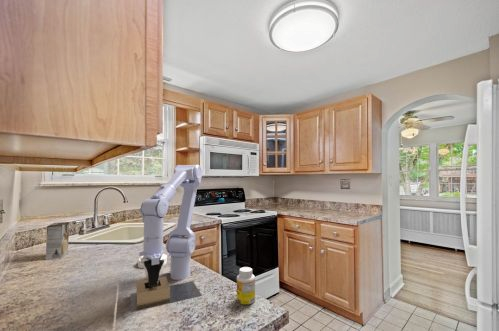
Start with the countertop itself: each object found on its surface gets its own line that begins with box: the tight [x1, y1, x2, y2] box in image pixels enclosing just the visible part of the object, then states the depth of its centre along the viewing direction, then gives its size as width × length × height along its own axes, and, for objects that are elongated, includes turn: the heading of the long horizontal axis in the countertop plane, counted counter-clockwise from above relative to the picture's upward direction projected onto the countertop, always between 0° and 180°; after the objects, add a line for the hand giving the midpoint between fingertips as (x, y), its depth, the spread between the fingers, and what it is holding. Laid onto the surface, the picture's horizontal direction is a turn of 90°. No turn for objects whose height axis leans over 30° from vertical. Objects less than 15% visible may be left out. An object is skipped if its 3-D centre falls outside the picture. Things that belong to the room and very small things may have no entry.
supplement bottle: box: [236, 266, 256, 306], centre depth 71 cm, size 6×6×10 cm
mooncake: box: [137, 253, 168, 270], centre depth 105 cm, size 12×12×4 cm
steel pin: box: [141, 256, 159, 288], centre depth 73 cm, size 4×4×10 cm
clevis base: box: [130, 275, 203, 313], centre depth 75 cm, size 12×20×5 cm, turn 117°
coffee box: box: [45, 221, 70, 261], centre depth 117 cm, size 9×6×16 cm
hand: (152, 281), depth 73 cm, fingers closed on steel pin, 4 cm apart
